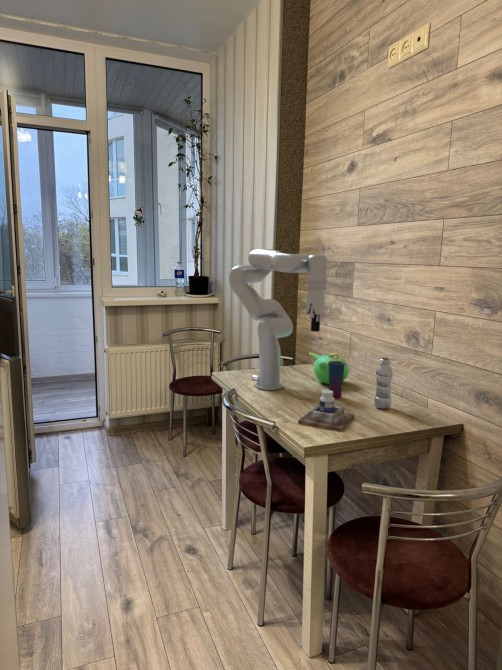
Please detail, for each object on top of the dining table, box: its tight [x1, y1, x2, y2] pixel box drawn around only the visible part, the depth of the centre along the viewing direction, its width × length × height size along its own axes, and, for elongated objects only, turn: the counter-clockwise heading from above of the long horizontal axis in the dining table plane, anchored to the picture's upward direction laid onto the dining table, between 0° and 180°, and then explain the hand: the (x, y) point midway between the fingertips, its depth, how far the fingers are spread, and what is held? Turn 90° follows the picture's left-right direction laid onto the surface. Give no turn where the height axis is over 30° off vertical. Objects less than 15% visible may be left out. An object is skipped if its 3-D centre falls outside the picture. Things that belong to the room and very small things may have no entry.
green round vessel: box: [308, 352, 350, 385], centre depth 221 cm, size 18×17×15 cm
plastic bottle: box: [373, 357, 394, 410], centre depth 186 cm, size 6×7×20 cm
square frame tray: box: [297, 403, 355, 432], centre depth 173 cm, size 16×16×4 cm
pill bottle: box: [319, 389, 336, 414], centre depth 173 cm, size 5×5×10 cm
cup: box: [328, 361, 345, 400], centre depth 200 cm, size 7×7×15 cm
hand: (315, 330), depth 193 cm, fingers closed
